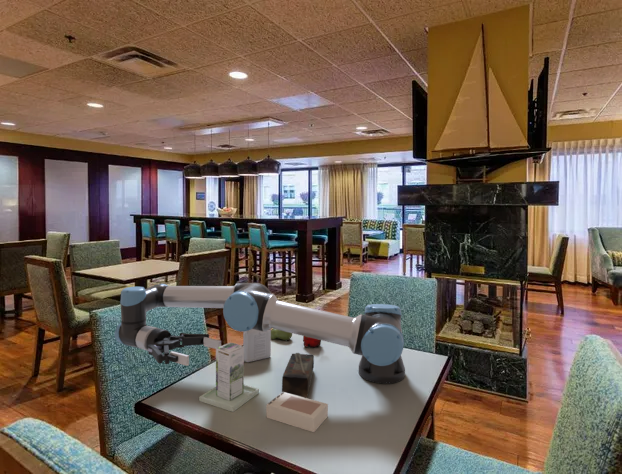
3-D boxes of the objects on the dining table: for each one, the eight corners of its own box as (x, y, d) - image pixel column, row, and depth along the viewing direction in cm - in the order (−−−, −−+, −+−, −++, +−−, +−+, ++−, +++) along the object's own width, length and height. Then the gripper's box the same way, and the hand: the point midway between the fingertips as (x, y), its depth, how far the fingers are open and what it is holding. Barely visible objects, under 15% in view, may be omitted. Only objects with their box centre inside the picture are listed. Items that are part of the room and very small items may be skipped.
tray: (199, 401, 110) (199, 396, 110) (227, 383, 121) (227, 379, 121) (233, 411, 105) (233, 407, 105) (259, 392, 115) (259, 388, 115)
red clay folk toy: (305, 341, 158) (305, 305, 157) (322, 342, 157) (323, 306, 156) (301, 348, 151) (301, 310, 150) (319, 349, 150) (319, 311, 148)
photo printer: (267, 353, 145) (267, 321, 144) (272, 357, 142) (272, 324, 140) (241, 359, 140) (241, 326, 138) (246, 363, 136) (246, 329, 135)
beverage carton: (314, 371, 131) (314, 352, 130) (308, 399, 112) (308, 377, 111) (291, 369, 132) (291, 350, 131) (280, 398, 113) (280, 376, 112)
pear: (287, 329, 156) (265, 329, 160) (289, 342, 156) (267, 342, 160) (293, 325, 161) (272, 325, 165) (295, 337, 161) (274, 338, 166)
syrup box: (230, 388, 117) (229, 341, 116) (244, 393, 114) (244, 345, 112) (215, 396, 112) (214, 347, 111) (230, 402, 109) (229, 351, 108)
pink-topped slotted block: (266, 417, 102) (266, 403, 102) (282, 403, 109) (282, 390, 109) (313, 432, 96) (313, 417, 95) (327, 416, 103) (327, 402, 102)
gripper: (183, 339, 136) (232, 350, 126) (120, 365, 114) (172, 381, 104) (183, 318, 136) (232, 328, 126) (119, 340, 113) (172, 354, 104)
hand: (205, 352), depth 115 cm, fingers open, 13 cm apart
